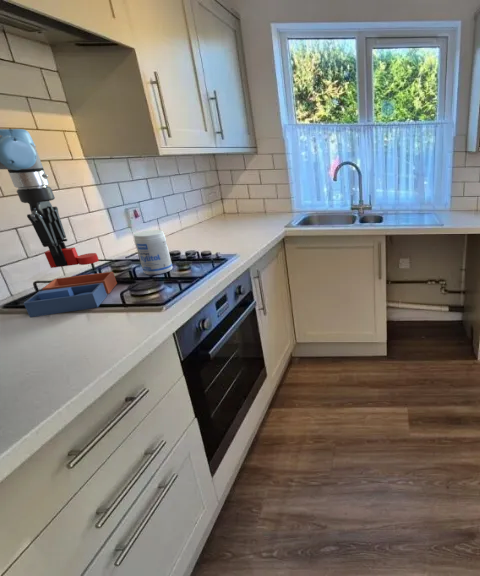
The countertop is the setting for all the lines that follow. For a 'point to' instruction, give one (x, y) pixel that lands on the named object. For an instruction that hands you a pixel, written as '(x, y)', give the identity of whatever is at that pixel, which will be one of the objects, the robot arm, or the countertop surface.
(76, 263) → the red spoon
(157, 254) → the supplement tub
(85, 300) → the blue bin
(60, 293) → the blue spoon
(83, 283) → the red bin
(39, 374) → the countertop surface
